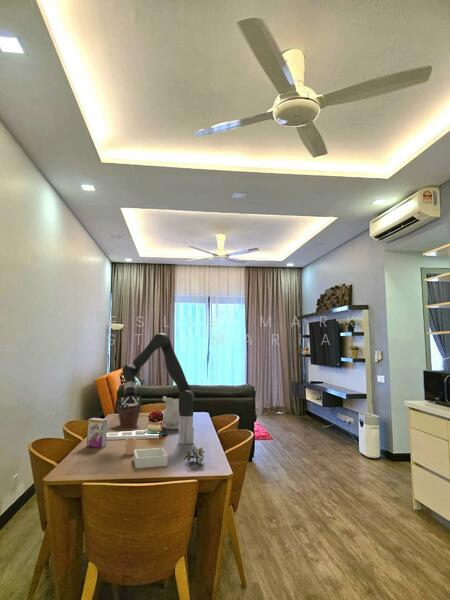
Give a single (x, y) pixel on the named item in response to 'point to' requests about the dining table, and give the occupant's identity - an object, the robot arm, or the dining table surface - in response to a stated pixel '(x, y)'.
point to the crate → (150, 458)
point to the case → (128, 415)
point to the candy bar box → (97, 432)
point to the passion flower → (195, 455)
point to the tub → (130, 446)
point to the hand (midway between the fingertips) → (130, 411)
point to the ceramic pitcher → (171, 413)
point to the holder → (130, 435)
